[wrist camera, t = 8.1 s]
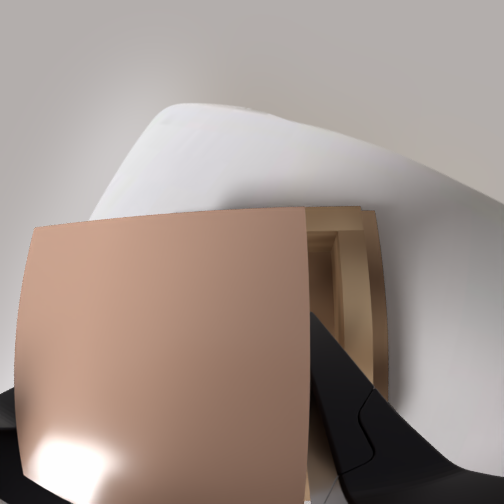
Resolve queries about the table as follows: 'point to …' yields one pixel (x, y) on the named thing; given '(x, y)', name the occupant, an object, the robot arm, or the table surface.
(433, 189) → the table surface
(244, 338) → the clay block
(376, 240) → the rack
